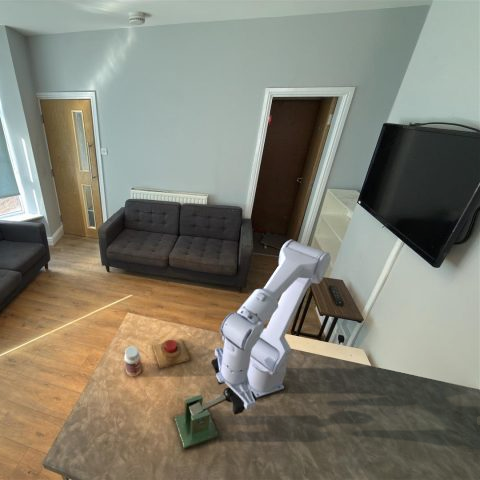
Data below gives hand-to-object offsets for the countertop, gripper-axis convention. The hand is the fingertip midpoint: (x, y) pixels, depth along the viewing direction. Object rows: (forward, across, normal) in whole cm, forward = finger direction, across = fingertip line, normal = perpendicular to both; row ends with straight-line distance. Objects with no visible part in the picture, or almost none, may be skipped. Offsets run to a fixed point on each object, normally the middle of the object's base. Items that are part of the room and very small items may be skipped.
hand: (229, 396), depth 65 cm
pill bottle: (+9, -21, -21) cm, 31 cm away
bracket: (+9, 0, -9) cm, 13 cm away
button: (+6, -23, -8) cm, 25 cm away
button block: (+9, -23, -8) cm, 26 cm away
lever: (+2, 0, -4) cm, 4 cm away
